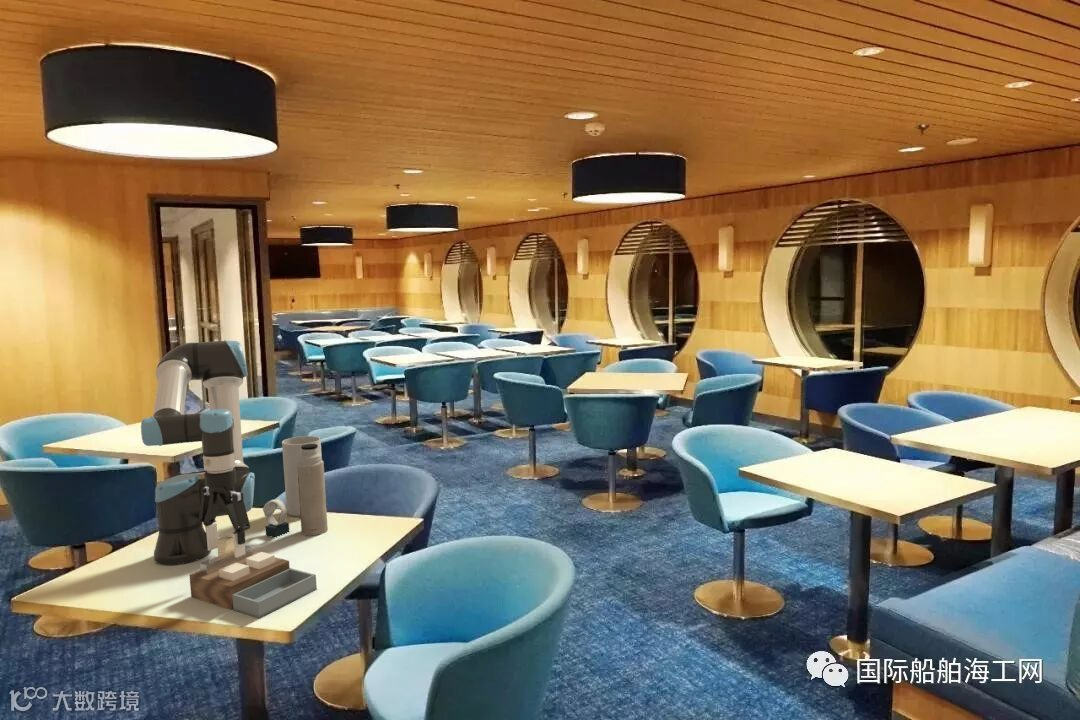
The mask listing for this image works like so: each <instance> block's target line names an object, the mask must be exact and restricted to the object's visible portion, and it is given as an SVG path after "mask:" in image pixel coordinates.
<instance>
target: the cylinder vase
mask: <svg viewBox="0 0 1080 720" xmlns="http://www.w3.org/2000/svg"><path fill="white" fill-rule="evenodd" d="M321 443H322V442H321V437H320V436H315V435H313V436H312V435H305V436H304V435H303V436H295V437H290V438H286V439H283V440H282V441H281V445H282V446H281V447H282V450H281V451H282V461H283V477H284V489H285V501H286V502H285V503H286V504H285V506H286V509H287V515H288V516H292V517H298V516H300V502H299V487H298V473H297V463H299V456H300V455H302V453H301V450H302V449H301V446H302V445H306V444H317V445H318V447H317V450H318V453H319V454H320V455H321V460H322V461H323V458H322V455H323V454H322V444H321Z"/></svg>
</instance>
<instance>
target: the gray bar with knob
mask: <svg viewBox="0 0 1080 720" xmlns="http://www.w3.org/2000/svg"><path fill="white" fill-rule="evenodd" d="M216 549H217V556H216V557H213V558H211V559H208V560H206V561H202V562H201V563H199V567H200V569H199V570H201V573H203V574H206V575H208V574H210V573H213V572H215V571H217V570H219V569H222V568H224V567H226V566H229V565H231V564H234V563H237V562H239V561H241V560H244V559H246V558H248V557H250V556H253V552H254V551H253V546H250V545H246V544H245V553H246V554H245V555H242V556H240V557H237V558H236V557H235V553H234V541H233V536H230V535H225V536H221V537H220V538H219V537H218V539H217V548H216Z"/></svg>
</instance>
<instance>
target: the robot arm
mask: <svg viewBox="0 0 1080 720" xmlns="http://www.w3.org/2000/svg"><path fill="white" fill-rule="evenodd" d="M244 353H245V352H244V350H243V345H242V343H241V342H240V341H238V340H219V341H217V340H216V341H202V342H200V341H199V342H185V343H183V344H181V345H177V346H176V347H174V348H172V349H171V350H169V351H168V352H167V353H166V354H164V356H163V357H161V359H160V361H159V362H158V364H157V366H156V372H155V377H156V380H157V381H158V382H157V387H156V394H155V401H154V406H153V410H152V411H153V412H152V416H150V417H145V418H143V419H142V420H141V423H140V433H141V440H142V444H144V445H145V446H146V447H152V446H153V447H154V446H155V447H157V446H158V447H162V446H167V445H174V444H184V443H185V444H186V443H198V442H199V443H200V442H201V446H202V457H203V458H202V459H203V469H204V471H205V472H204V473H203V474H204V475H203V476H204V477H203V478H202V477H201V478H200V476H199V474H198V473H185V474H178V475H176V476H172V477H169V478H166V479H164V480H161V482H159V483H158V484H157V485H156V487H155V489H154V490H155V491H154V493H155V499H154V502H155V505H156V517H157V527H158V528H157V529H158V534H157V535H158V537H157V539H156V544H155V548H154V550H153V559H154V562H155V563H156V564H158V565H165V566H173V565H175V566H176V565H183V564H188V563H191V562H195V561H199V560H201V559H203V558H205V557H208V555H210V554H211V552H212V550H215V549H217V539H219V535H218V534H219V533H218V526H217V520H216V518H217V517H223V516H228V519H229V521H230V523H231V525H232V527H233V530H234V531H233V532H232V537H233V541H234V553H235V557H236V558H237V557H240V556H242V555H245V554H246V553H245V545H246V531H248V530H250V529H251V523H250V519H249V515H248V512H250V511H251V510H252V508H253V503H254V495H255V494H254V491H255V478H256V477H255V473H254V472H250V467H249V466H248V465H247V464H245V462H244V456H243V455H244V454H243V452H244V451H243V440H242V439H243V438H242V424H241V423H242V421H241V407H240V391H239V388H240V387H241V385H242V384H244V378H246V377H248V375H249V373H248V369H247V363H246V359H245V354H244ZM199 380H201V381H202V385H203V387H205V389H207V390H208V402H209V403H208V404H209V406H208V408H209V409H208V410H204V411H202V412H200V413H199V412H198V413H188V414H186V413H185V410H186V409H185V408H186V396H187V388H188V384H189V383H190V381H199ZM203 525H204V526H205V528H204V526H203Z"/></svg>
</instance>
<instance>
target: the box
mask: <svg viewBox="0 0 1080 720" xmlns="http://www.w3.org/2000/svg"><path fill="white" fill-rule="evenodd" d="M317 590H318V589H317V575H316V574H315V573H311V572H307V571H303V570H298V569H296V568H292V567H290V569H287V570H285V571H283V572H281V573H279V574H276V575H274V576H272V577H270V578H268V579H266V580H263V581H261V582H259V583H257V584H255V585H252V586H250V587H248V588H246V589H244V590H241V591H239V592H237V593H235V594H233V595H232V599H233V610H232V611H234V612H238V613H241V614H243V615H247V616H250V617H254V618H257V619H260V620H261V617H262V618H263V616H264V617H266V616H267V615H269V614H272V613H273V612H275V611H277V610H279V609H281V608H283V607H286V606H287V605H290V604H291V603H292V602H295V601H297V600H299V599H301V598H303V597H305V596H306V595H308V594H309V595H310V594H311V593H313V592H314V591H317Z"/></svg>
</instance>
